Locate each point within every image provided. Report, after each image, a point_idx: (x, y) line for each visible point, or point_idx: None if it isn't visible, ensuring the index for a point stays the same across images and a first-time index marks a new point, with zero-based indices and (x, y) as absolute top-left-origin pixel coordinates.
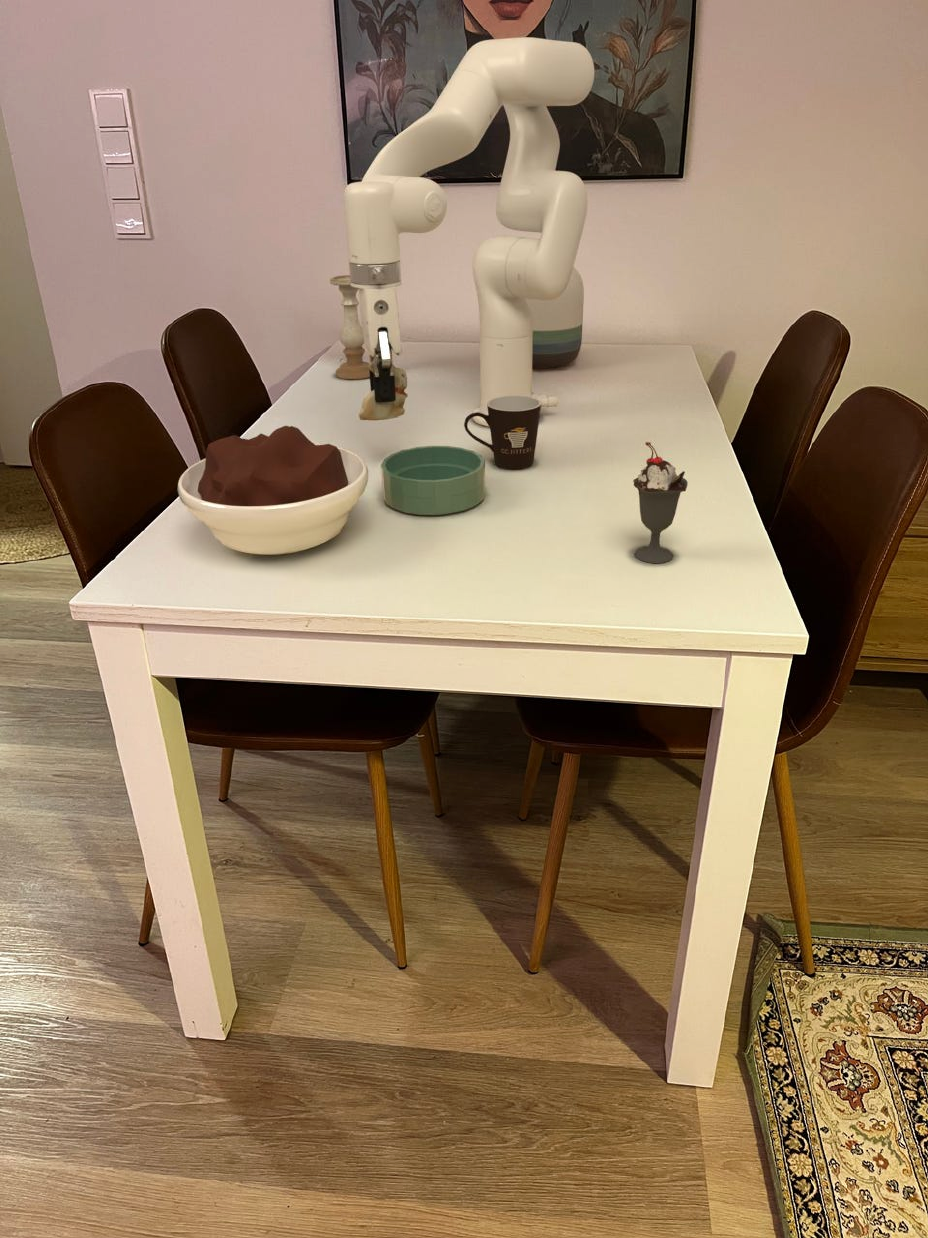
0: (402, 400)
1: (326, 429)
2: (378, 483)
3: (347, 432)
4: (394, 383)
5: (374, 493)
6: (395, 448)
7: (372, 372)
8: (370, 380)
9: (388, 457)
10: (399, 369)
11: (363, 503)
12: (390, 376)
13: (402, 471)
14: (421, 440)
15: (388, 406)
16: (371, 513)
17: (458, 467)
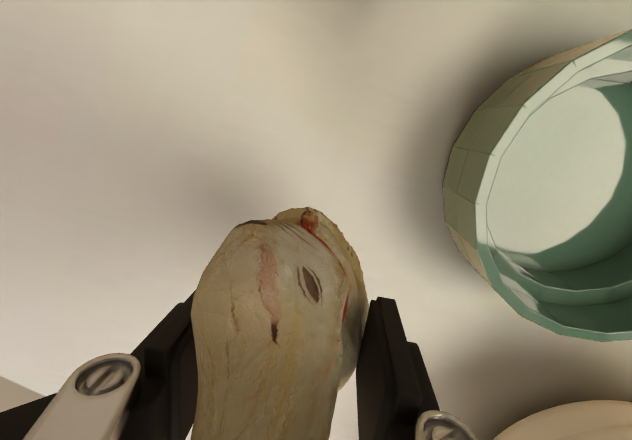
0: (338, 241)
1: (31, 272)
2: (411, 267)
3: (59, 237)
4: (410, 356)
5: (462, 290)
6: (200, 166)
7: (188, 423)
8: None
9: (516, 302)
10: (285, 324)
11: (502, 322)
12: (413, 413)
13: (496, 247)
14: (156, 81)
15: (367, 306)
16: None
17: (560, 93)
